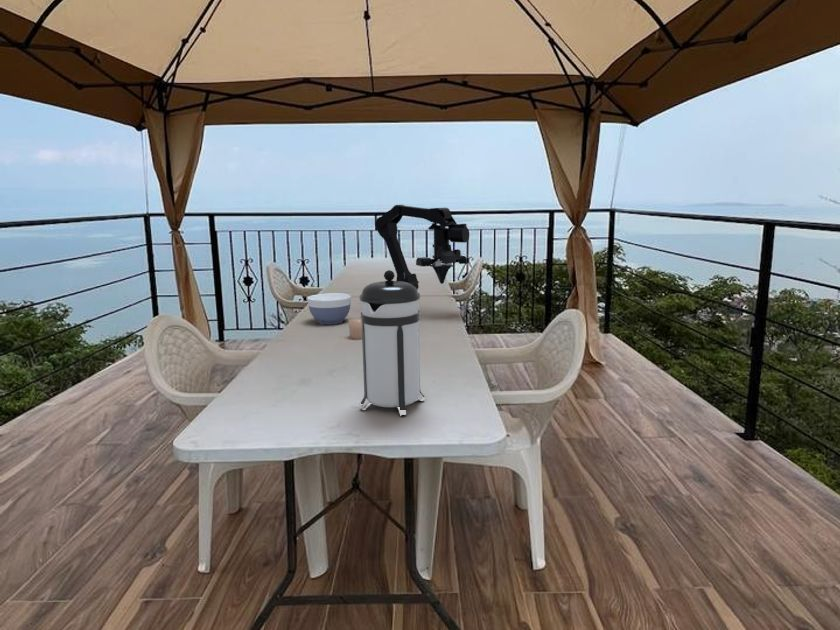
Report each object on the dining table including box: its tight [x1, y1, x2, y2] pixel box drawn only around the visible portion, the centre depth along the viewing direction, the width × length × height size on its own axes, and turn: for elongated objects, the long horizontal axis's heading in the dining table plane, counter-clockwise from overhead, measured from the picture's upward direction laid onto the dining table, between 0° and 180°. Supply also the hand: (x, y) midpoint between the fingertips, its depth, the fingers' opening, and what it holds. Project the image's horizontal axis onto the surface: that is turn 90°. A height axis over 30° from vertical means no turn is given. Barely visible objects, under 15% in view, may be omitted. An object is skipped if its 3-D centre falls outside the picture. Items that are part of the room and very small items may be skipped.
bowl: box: [307, 292, 352, 325], centre depth 211 cm, size 16×16×10 cm
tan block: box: [348, 317, 362, 340], centre depth 187 cm, size 6×6×6 cm
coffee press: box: [359, 269, 425, 410], centre depth 124 cm, size 17×16×30 cm
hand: (441, 283), depth 214 cm, fingers closed
